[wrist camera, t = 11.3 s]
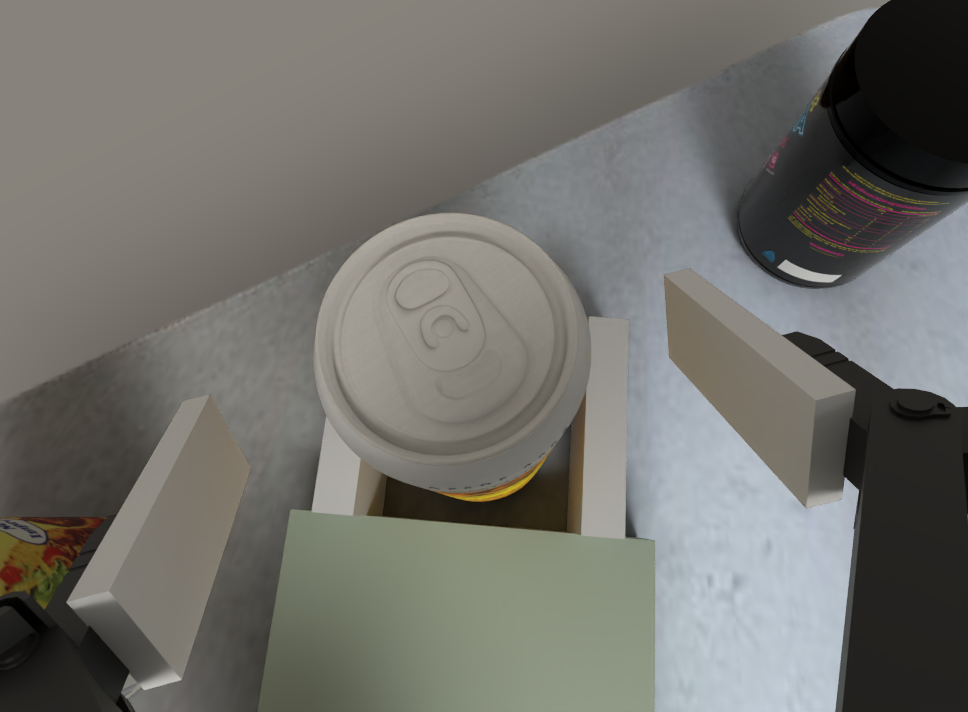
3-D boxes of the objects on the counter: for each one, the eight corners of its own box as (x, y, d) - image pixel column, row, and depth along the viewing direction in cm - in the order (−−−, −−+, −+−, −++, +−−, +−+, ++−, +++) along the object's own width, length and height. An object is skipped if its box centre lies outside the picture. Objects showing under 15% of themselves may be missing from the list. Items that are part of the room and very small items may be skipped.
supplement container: (876, 180, 28) (1076, -1, 18) (871, 306, 27) (1089, 182, 17) (737, 159, 29) (857, -27, 19) (724, 281, 27) (849, 147, 17)
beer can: (453, 528, 25) (376, 549, 10) (390, 407, 26) (248, 279, 12) (573, 459, 25) (659, 386, 11) (505, 344, 27) (502, 148, 13)
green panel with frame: (639, 335, 27) (668, 296, 22) (635, 752, 22) (670, 817, 18) (344, 316, 28) (310, 274, 23) (283, 714, 23) (224, 766, 18)
